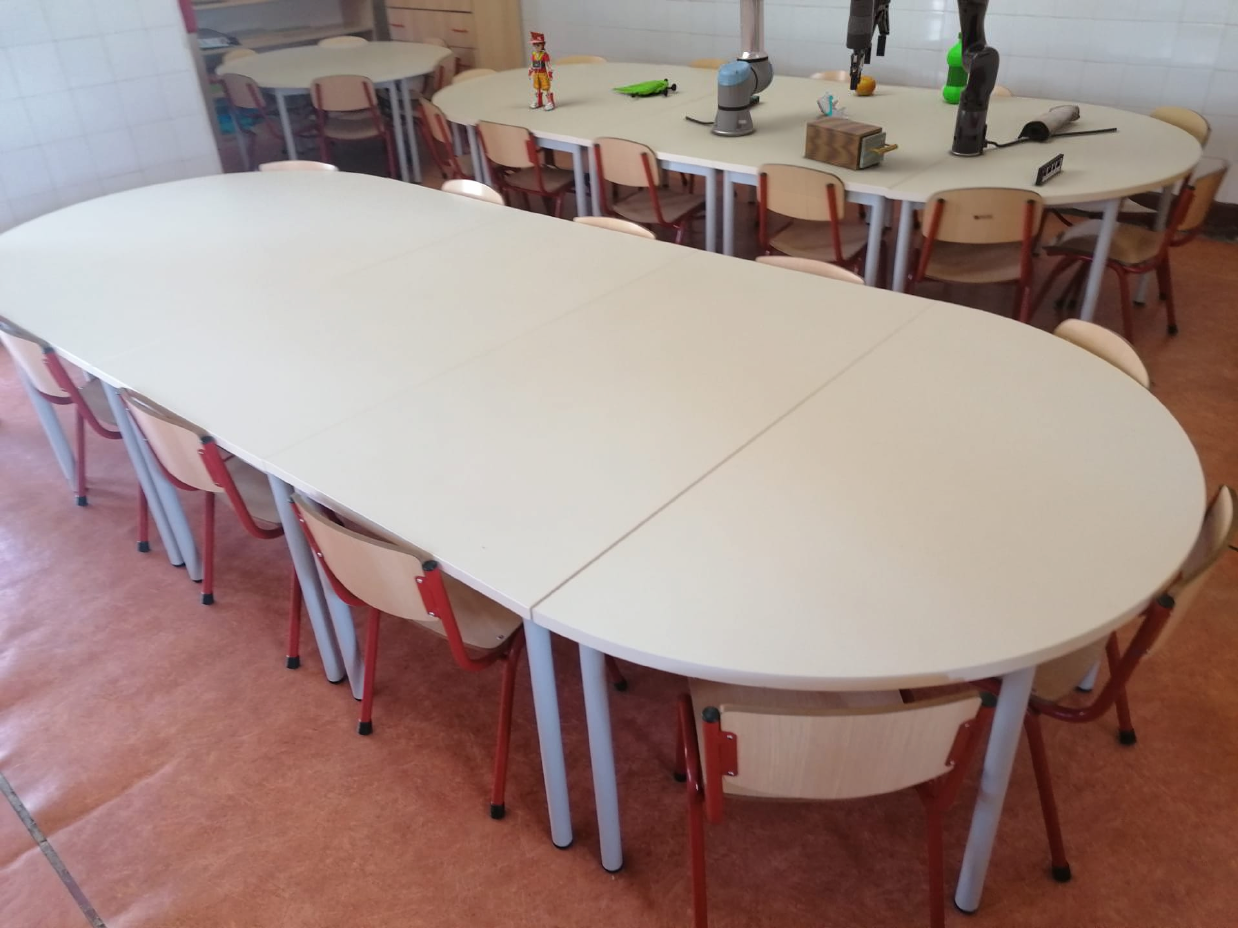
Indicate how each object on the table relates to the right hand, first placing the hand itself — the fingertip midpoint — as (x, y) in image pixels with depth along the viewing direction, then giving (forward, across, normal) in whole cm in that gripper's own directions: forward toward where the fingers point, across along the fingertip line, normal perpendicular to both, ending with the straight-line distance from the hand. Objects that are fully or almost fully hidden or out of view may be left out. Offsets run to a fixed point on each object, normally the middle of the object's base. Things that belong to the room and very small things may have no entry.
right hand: (855, 86), depth 284 cm
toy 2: (+24, +91, +101) cm, 138 cm away
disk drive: (+24, +71, +52) cm, 91 cm away
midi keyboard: (+24, -6, -61) cm, 66 cm away
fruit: (+24, +95, +5) cm, 98 cm away
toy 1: (+23, +60, +136) cm, 150 cm away
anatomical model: (+24, +56, +13) cm, 62 cm away
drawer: (+23, 0, -2) cm, 23 cm away
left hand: (-2, +31, -2) cm, 32 cm away
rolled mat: (+25, +47, -63) cm, 83 cm away
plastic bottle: (+24, +86, -30) cm, 95 cm away
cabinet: (+24, +3, +3) cm, 24 cm away
